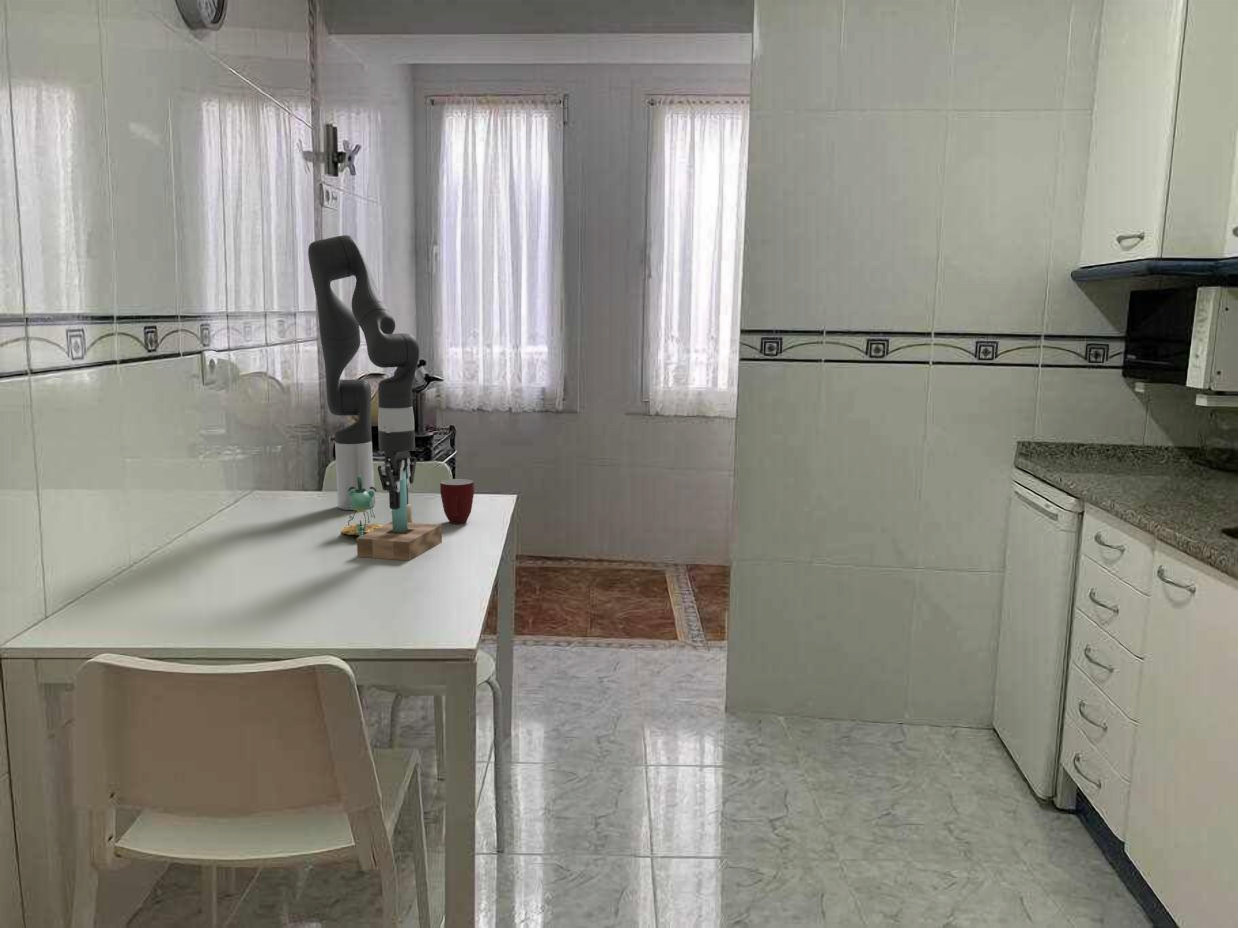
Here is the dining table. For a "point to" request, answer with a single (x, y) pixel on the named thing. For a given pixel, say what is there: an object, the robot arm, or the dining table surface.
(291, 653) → the dining table surface
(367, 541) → the hole block
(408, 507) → the short pin
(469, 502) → the mug
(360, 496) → the teal creature figurine
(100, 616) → the dining table surface
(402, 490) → the long pin
